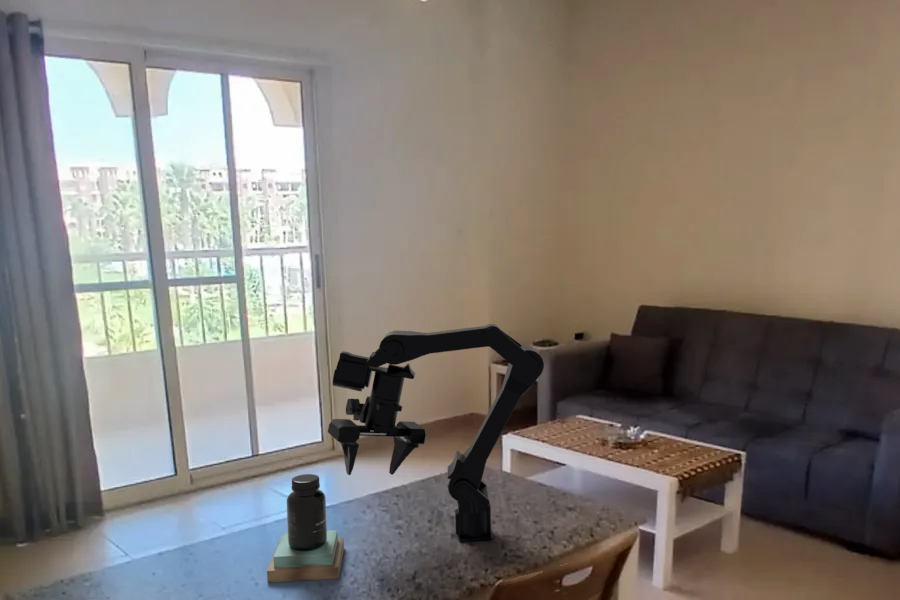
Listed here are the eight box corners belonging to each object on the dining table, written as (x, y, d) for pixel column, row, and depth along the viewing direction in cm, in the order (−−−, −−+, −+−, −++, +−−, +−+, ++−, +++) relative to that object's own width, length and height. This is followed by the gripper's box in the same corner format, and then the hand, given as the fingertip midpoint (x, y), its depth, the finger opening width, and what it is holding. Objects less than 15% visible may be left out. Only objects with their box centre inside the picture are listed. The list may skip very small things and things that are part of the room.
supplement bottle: (327, 550, 125) (324, 483, 124) (287, 553, 124) (283, 486, 122) (327, 534, 131) (324, 470, 130) (289, 537, 130) (286, 473, 129)
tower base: (343, 548, 134) (343, 527, 134) (338, 578, 122) (337, 555, 122) (279, 551, 134) (278, 531, 133) (267, 582, 122) (266, 559, 121)
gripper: (408, 387, 149) (393, 459, 150) (324, 381, 139) (310, 458, 140) (434, 403, 139) (419, 479, 141) (347, 398, 129) (331, 480, 131)
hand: (370, 474), depth 138 cm, fingers open, 9 cm apart
